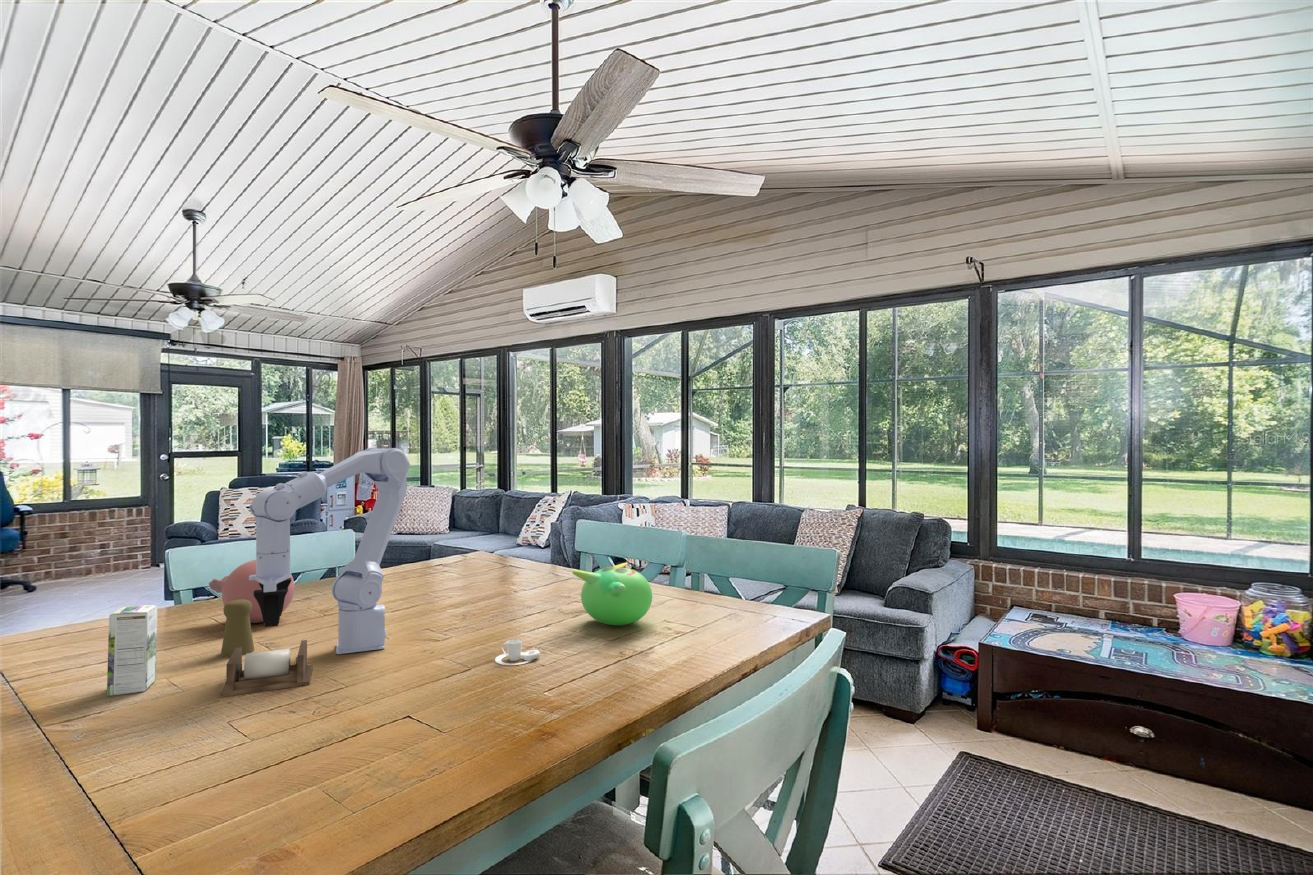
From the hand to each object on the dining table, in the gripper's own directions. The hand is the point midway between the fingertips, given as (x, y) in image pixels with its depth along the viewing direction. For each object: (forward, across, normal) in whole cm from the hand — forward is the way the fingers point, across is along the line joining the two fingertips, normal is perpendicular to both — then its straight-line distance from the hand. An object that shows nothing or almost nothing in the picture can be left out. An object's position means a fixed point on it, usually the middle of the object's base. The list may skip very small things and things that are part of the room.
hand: (273, 621), depth 127 cm
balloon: (+10, -42, -8) cm, 44 cm away
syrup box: (+10, -1, -22) cm, 24 cm away
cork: (+10, -16, -8) cm, 21 cm away
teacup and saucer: (+11, +16, +45) cm, 49 cm away
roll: (+9, +6, 0) cm, 11 cm away
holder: (+10, +6, 0) cm, 11 cm away
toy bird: (+10, -2, +73) cm, 74 cm away
